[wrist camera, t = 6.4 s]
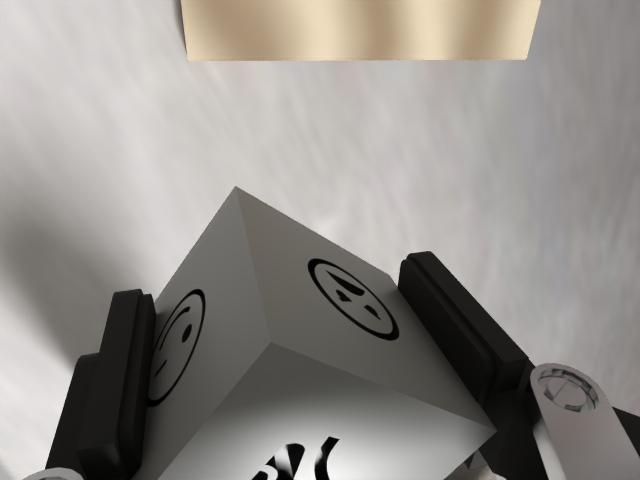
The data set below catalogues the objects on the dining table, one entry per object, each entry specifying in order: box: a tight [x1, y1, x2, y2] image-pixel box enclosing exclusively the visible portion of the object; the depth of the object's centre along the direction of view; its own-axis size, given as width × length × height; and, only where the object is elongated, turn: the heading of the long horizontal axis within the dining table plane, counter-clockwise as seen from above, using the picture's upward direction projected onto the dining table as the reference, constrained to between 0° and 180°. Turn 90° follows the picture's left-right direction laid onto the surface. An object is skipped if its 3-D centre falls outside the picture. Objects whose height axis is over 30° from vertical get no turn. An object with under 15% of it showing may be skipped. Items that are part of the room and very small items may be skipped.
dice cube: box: [131, 186, 497, 480], centre depth 9 cm, size 5×5×5 cm
